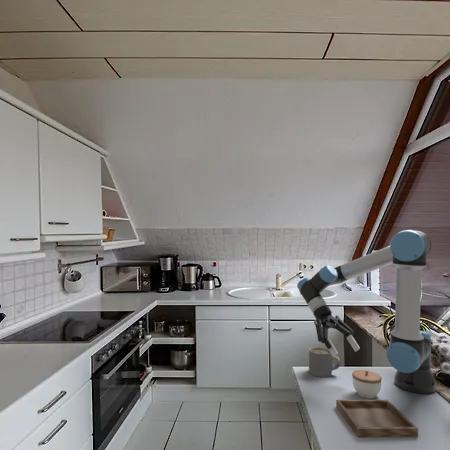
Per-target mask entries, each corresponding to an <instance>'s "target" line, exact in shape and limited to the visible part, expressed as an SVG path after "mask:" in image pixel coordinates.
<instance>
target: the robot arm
mask: <svg viewBox="0 0 450 450" xmlns="http://www.w3.org/2000/svg"><path fill="white" fill-rule="evenodd" d="M432 247H433V245H432V239H431V238H430V237H429V235H428V234H426V233H425V232H424V231H420V230H413V229H404V230H402V231H399V232H397V233H396V234H395V235H393V237H392V238H391V240H390V242H389V246H386V247H384V248H380V249H378V250H376V251H373V252H371V253H368V254H366V255H364V256H361V257H358V258H355V259H354V260H351V261H347V262H345V263H343V264H341V265H338V266H336V267H333V266H331V265H329V264H326V265H324V266H323V267H322V268H320V269H319V270H318V271H317V272H316V274H314V275H313V276H312V277H311V278H310V277H305V278H302V279H300V280H299V281H298V282H297V284H296V287H297V289H298V292H299V294H300V295H301V297H302V298H303V299H304V301H305V303H306V304H307V306H308V308H309V309H310V311H311V313H312V315H313V316H314V318H315V320H314V321H313V324H314V326H315V330H316V334H317V335H316V336H317V341H318V342H320V343H321V344H324V345H325V348H327V349H329V351H330V352H331V354H332V356H333V357H335V356H337V355H339V352H338V350H337V348H336V347H335V345H334V343H333V342H332V340H331V339H330V338H329V337H328V336H329V329H334V330H336V331H338V332H339V333H341V334H343V335H344V336H345V337H346V340H347V341H348V342H349V345H350V346H351V348H352V349H353V350H354V352H357V351H359V350H360V349H361V348H360V346H359V344H358V342H357V341H356V338H355V337H354V335H353V334H354V332H355V331H354V330H353V329H352V328H351V327H350V326H349V325H348V324H346V323H345V322H344V320H342V319H341V318H340V317H339V315H335V316H333V315H332V314H333V313H332V310H331V309H330V307H329V306H328V304H327V303H326V301H325V298H323V296H322V295H321V293H322V292H323V291H325V289H327V288H328V287H330V286H333V285H339V284H342V283H344V282H346V281H348V280H352V279H354V278H357V277H360V276H362V275H365V274H368V273H370V272H373V271H376V270H378V269H381V268H384V267H386V266H391V265H393V266H394V267H395V268H396V277H395V278H396V281H395V282H396V283H395V284H396V286H395V312H394V313H395V314H394V329H393V330H391V331H390V332H389V333H390V336H389V337H390V338H389V345H388V346H387V348H386V359H387V362H388V363H389V364H390V366H391V367H392V368H393V369H395V370H396V372H395V374H394V379H393V380H394V384H395V385H396V386H397V387H399V388H401V389H403V390H405V391H408V392H412V393H416V394H426V395H427V394H432V393H435V392H436V390H435V388H436V385H437V384H436V382H435V379H434V376H433V372H432V369H431V368H432V367H431V363H432V360H431V359H432V356H431V354H432V353H431V352H432V337H431V334H430V332H428V331H424V330H421V327H420V325H421V301H422V299H421V297H422V293H421V292H422V271H423V269H425V268H426V267H427V257H428V255H429V254H430V252H431V250H432Z"/></svg>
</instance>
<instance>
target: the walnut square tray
mask: <svg viewBox="0 0 450 450" xmlns="http://www.w3.org/2000/svg"><path fill="white" fill-rule="evenodd" d="M335 402H336V403H335V407H336V408H337V410H338V411H339V413H340V414H341V415H342V418H343V419H344V420H345V421H346V422H347V424H348V425H349V427H350V428H351V429H352V430H353V432H354V434H355V435H356V436H357V437H358V438H396V437H397V438H398V437H399V438H403V437H405V438H407V437H409V438H411V437H413V438H414V437H415V438H417V437H419V428H418V427H417V426H416V425H415V424H414V423H413V422H412V421H411V420H410V419H409V418H407V416H405V415H404V413H402V412H401V411H400V410H399V409H398V408H397V407H396V406H395V405H394V404H393V403H392V402H391V401H389V400H388V399H336V401H335Z"/></svg>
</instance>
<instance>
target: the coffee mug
mask: <svg viewBox="0 0 450 450" xmlns="http://www.w3.org/2000/svg"><path fill="white" fill-rule="evenodd" d="M333 360H336V365H334V364H333ZM340 366H341V359H340V358H339V356H337V355H336V356H335V357H333V356H332V354H331V352H330V351H329V349H328V348H327V347H323V346H311V347H309V350H308V373H309V374H311V375H312V376H314V377H318V378H329V377H331V375H332V372H333V371H334V370H335V371H336V370H338V369H339V368H340Z"/></svg>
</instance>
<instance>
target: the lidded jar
mask: <svg viewBox="0 0 450 450" xmlns="http://www.w3.org/2000/svg"><path fill="white" fill-rule="evenodd" d="M351 374H352V375H351V376H352V384H353V388H354V390H355V392H356V393H357V394H358V396H359V397H361V398H364V399H374V398H375V397H376V396H378V395H379V393H380V391H381V389H382V379H383V378H382V376H381V375H380V374H379V373H377V372H375V371H372V370H368V369H357V370H354V371H352V373H351Z"/></svg>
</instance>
